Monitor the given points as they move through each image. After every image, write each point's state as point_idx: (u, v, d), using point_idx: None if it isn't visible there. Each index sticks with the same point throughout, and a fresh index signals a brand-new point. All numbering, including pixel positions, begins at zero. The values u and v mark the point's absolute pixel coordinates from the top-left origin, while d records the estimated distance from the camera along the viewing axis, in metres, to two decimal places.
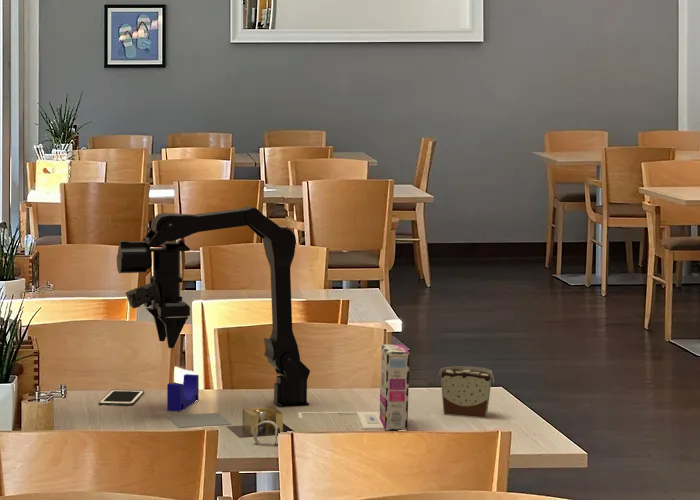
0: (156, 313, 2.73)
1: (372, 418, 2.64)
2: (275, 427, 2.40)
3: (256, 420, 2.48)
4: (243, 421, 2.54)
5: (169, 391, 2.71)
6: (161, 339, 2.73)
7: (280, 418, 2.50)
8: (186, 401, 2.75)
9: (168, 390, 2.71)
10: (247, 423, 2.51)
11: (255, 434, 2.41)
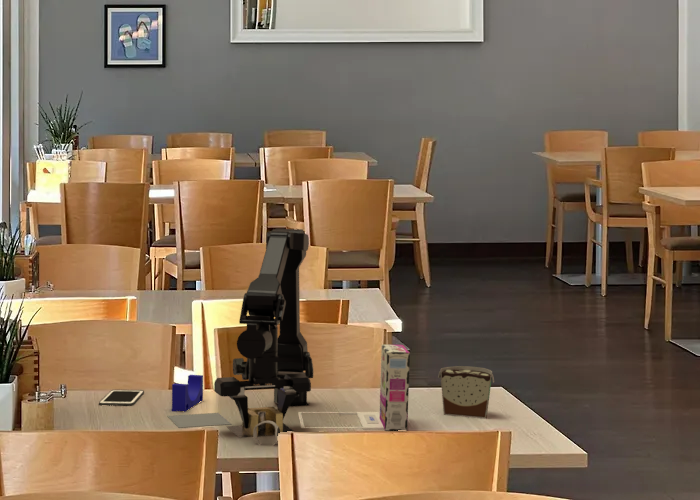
0: (279, 395, 2.54)
1: (372, 418, 2.64)
2: (275, 427, 2.40)
3: (256, 420, 2.48)
4: None
5: (174, 391, 2.71)
6: None
7: (280, 418, 2.50)
8: (191, 401, 2.74)
9: (173, 390, 2.71)
10: None
11: (255, 434, 2.41)
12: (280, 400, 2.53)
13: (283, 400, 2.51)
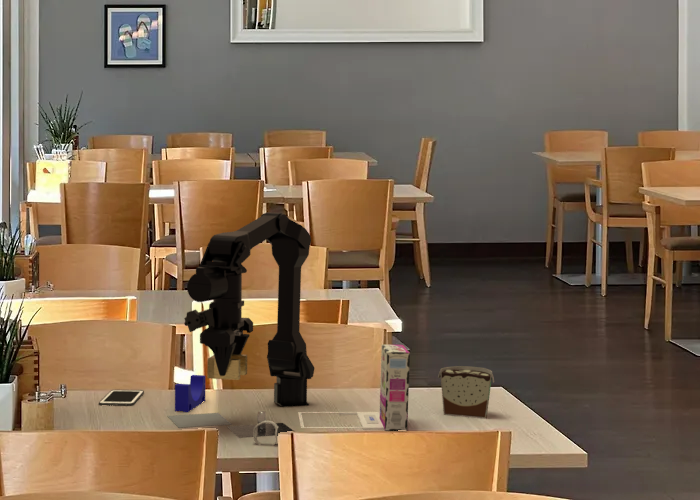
0: None
1: (372, 418, 2.64)
2: (275, 427, 2.40)
3: (240, 364, 2.53)
4: (211, 371, 2.53)
5: (177, 392, 2.71)
6: None
7: (246, 359, 2.58)
8: (193, 402, 2.74)
9: (176, 391, 2.71)
10: None
11: (255, 434, 2.41)
12: None
13: (241, 342, 2.59)
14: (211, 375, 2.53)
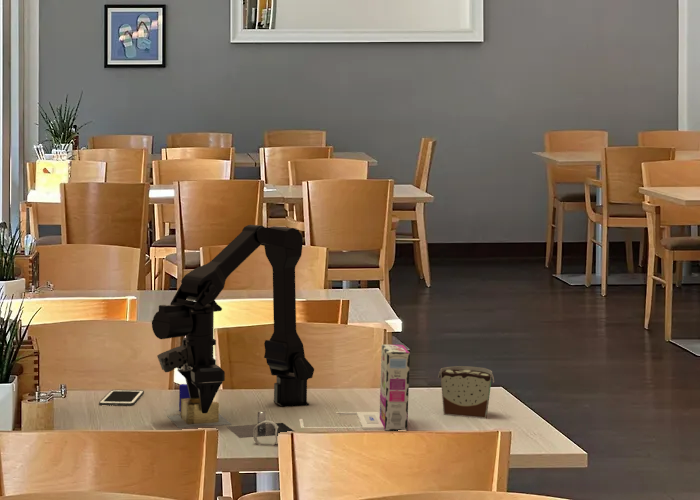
0: (188, 375, 2.64)
1: (372, 418, 2.64)
2: (275, 427, 2.40)
3: None
4: (191, 416, 2.57)
5: (181, 392, 2.70)
6: None
7: None
8: None
9: (180, 391, 2.70)
10: (205, 414, 2.58)
11: (255, 434, 2.41)
12: None
13: None
14: (191, 420, 2.57)
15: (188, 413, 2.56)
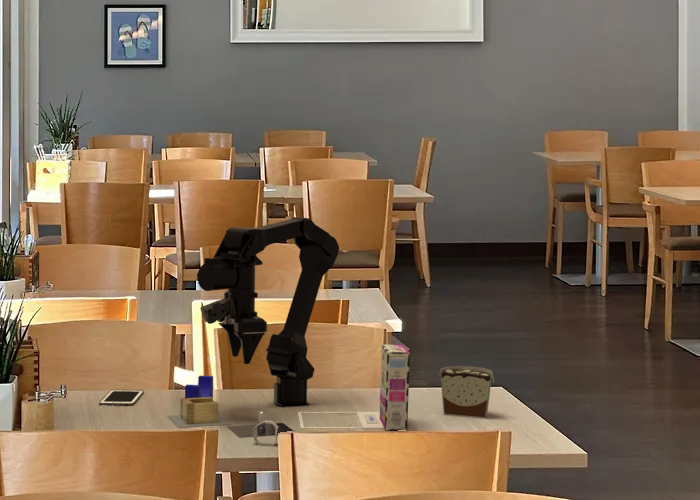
0: (229, 328, 2.71)
1: (372, 418, 2.64)
2: (275, 427, 2.40)
3: None
4: (191, 416, 2.57)
5: (187, 392, 2.70)
6: (234, 354, 2.71)
7: None
8: None
9: (186, 391, 2.70)
10: (205, 414, 2.58)
11: (255, 434, 2.41)
12: (235, 332, 2.71)
13: None
14: (191, 420, 2.57)
15: (188, 413, 2.56)
